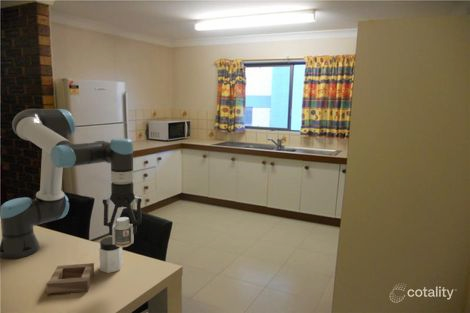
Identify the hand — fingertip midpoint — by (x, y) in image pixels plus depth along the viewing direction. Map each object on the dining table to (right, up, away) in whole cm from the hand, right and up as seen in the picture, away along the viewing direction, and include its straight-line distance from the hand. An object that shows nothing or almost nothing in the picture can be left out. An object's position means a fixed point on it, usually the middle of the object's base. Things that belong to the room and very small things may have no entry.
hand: (123, 242), depth 120 cm
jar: (-10, -14, +14) cm, 22 cm away
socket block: (-19, -16, +1) cm, 25 cm away
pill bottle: (0, -1, 0) cm, 1 cm away
